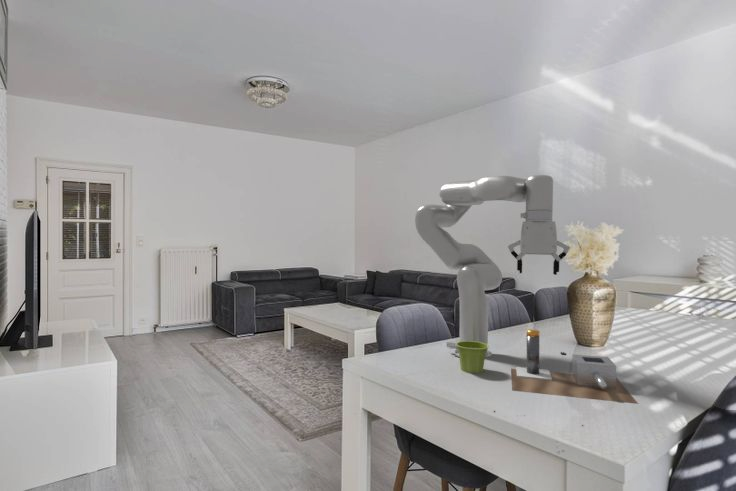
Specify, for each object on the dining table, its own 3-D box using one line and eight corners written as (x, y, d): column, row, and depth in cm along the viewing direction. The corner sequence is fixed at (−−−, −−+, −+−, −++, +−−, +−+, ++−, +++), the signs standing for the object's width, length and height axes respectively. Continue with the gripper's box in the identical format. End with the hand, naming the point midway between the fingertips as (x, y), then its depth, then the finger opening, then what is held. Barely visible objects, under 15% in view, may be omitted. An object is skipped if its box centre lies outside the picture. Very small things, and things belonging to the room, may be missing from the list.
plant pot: (489, 371, 128) (489, 342, 128) (487, 380, 119) (487, 349, 119) (457, 367, 131) (458, 340, 131) (453, 376, 122) (454, 346, 122)
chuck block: (582, 395, 104) (583, 371, 104) (572, 375, 120) (572, 354, 120) (624, 400, 101) (624, 375, 101) (607, 378, 117) (608, 357, 117)
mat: (517, 377, 118) (517, 375, 118) (516, 368, 126) (516, 366, 126) (552, 380, 115) (552, 378, 115) (548, 371, 124) (548, 369, 124)
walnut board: (512, 395, 107) (512, 390, 107) (510, 372, 126) (510, 368, 126) (638, 408, 99) (638, 403, 99) (616, 382, 118) (616, 378, 118)
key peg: (527, 373, 120) (526, 331, 120) (526, 370, 123) (526, 329, 123) (539, 374, 119) (539, 332, 119) (539, 371, 122) (538, 329, 122)
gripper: (508, 216, 126) (507, 273, 127) (572, 216, 121) (570, 276, 121) (508, 217, 134) (507, 271, 134) (569, 217, 128) (567, 274, 128)
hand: (537, 273), depth 127 cm, fingers open, 9 cm apart
